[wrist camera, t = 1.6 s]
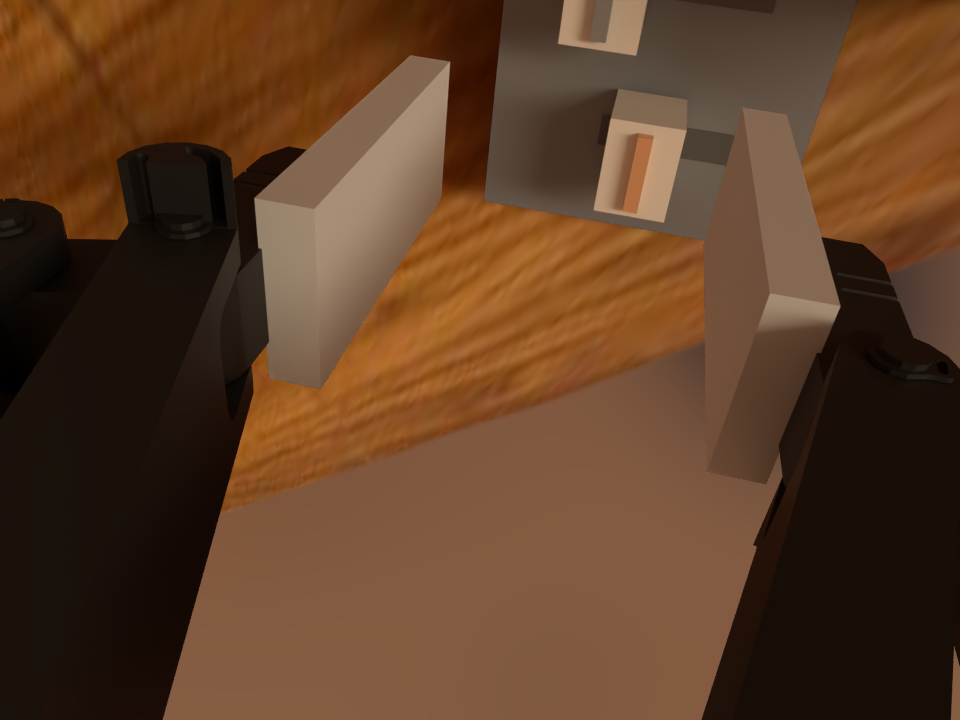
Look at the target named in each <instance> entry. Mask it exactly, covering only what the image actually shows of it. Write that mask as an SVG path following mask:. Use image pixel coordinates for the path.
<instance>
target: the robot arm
mask: <svg viewBox="0 0 960 720" xmlns="http://www.w3.org/2000/svg"><path fill="white" fill-rule="evenodd" d="M449 72H450V61H443V60H437V59H431V58H424V57H418V56H412V55H410V56H409V57H408V58H407V59H406V60H405V61H404V62H403V63H402V64H400V65H399V66H398V67H397V68H396V69H395V70H394V71H393V72H392V73H391V74H389V75H388V76H387V77H386V78H385V79H384V80H383V81H382V82H381V83H380V84H379V85H377V86H376V87H375V88H374V89H373V90H372V91H371V92H370V93H369V94H368V95H367V96H365V97H364V98H363V99H362V100H361V101H360V102H359V103H358V104H357V105H356V106H355V107H353V108H352V109H351V110H350V111H349V112H348V113H347V114H346V115H345V116H344V117H342V118H341V119H340V120H339V121H338V122H337V123H336V124H335V125H334V126H333V127H332V128H330V129H329V130H328V131H327V132H326V133H325V134H324V135H323V136H322V137H321V138H320V139H318V140H317V141H316V142H315V143H314V144H313V145H312V146H311V147H310V148H309V149H307V150H305V149H299V148H294V147H285V148H283V149H280V150H277V151H274V152H272V153H269V154H266V155H263V156H262V157H260V158H259V159H258V160H257V161H256V162H254V163H253V164H252V165H251V166H250V167H248V168H247V169H246V172H242V173H241V174H240V175H239V176H238V177H236V178H235V179H234V182H233V173H232V163H231V158H230V157H229V156H228V155H227V154H226V153H224V152H223V151H221V150H219V149H216V148H213V147H210V146H208V145H201V144H194V143H161V144H155V145H148V146H143V147H141V148H138V149H135V150H132V151H129V152H127V153H126V154H124V155H123V156H122V157H120V158H119V159H117V164H118V169H119V174H120V180H121V185H122V190H123V196H124V201H125V206H126V212H127V217H128V225H127V226H126V228H125V229H124V231H123V232H122V234H121V235H120V237H119V239H118V240H97V239H67V235H66V231H65V227H64V223H63V218H62V214H61V213H60V212H59V211H57V210H56V209H55V208H54V207H53V206H50V205H47V204H43V203H40V202H37V201H24V200H20V199H5V201H3V199H0V720H163V716H164V713H165V709H166V706H167V702H168V698H169V695H170V691H171V688H172V684H173V680H174V677H175V673H176V670H177V666H178V662H179V659H180V655H181V652H182V648H183V644H184V641H185V637H186V634H187V630H188V626H189V623H190V619H191V616H192V612H193V608H194V605H195V601H196V597H197V594H198V591H199V587H200V583H201V580H202V576H203V572H204V569H205V565H206V562H207V558H208V555H209V551H210V547H211V544H212V540H213V536H214V533H215V529H216V526H217V522H218V518H219V515H220V511H221V508H222V504H223V501H224V497H225V493H226V490H227V486H228V483H229V479H230V475H231V472H232V468H233V465H234V461H235V457H236V454H237V450H238V447H239V443H240V439H241V436H242V432H243V429H244V425H245V421H246V418H247V414H248V411H249V407H250V403H251V400H252V396H253V393H254V392H253V376H252V366H251V364H252V363H253V362H254V361H255V359H256V358H257V357H258V355H259V354H260V353H261V352H262V350H263V349H264V348H265V346H266V345H267V357H268V369H269V378H270V379H275V380H279V381H284V382H289V383H293V384H298V385H303V386H308V387H312V388H317V389H321V388H322V387H323V385H324V383H325V382H326V380H327V379H328V377H329V376H330V374H331V372H332V371H333V369H334V368H335V366H336V364H337V363H338V361H339V360H340V358H341V357H342V355H343V353H344V352H345V350H346V349H347V347H348V345H349V344H350V342H351V341H352V339H353V337H354V336H355V334H356V333H357V331H358V330H359V328H360V326H361V325H362V323H363V322H364V320H365V318H366V317H367V315H368V314H369V312H370V311H371V309H372V307H373V306H374V304H375V303H376V301H377V299H378V298H379V296H380V295H381V293H382V292H383V290H384V288H385V287H386V285H387V284H388V282H389V280H390V279H391V277H392V276H393V274H394V273H395V271H396V269H397V268H398V266H399V265H400V263H401V261H402V260H403V258H404V257H405V255H406V254H407V252H408V250H409V249H410V247H411V246H412V244H413V242H414V241H415V239H416V238H417V236H418V234H419V233H420V231H421V230H422V228H423V227H424V225H425V223H426V222H427V220H428V219H429V217H430V215H431V214H432V212H433V211H434V209H435V208H436V206H437V204H438V203H439V201H440V200H441V194H442V179H443V163H444V148H445V133H446V118H447V102H448V87H449ZM704 309H705V372H706V373H705V376H706V437H707V438H706V439H707V440H706V443H707V472H711V473H716V474H720V475H725V476H730V477H734V478H739V479H744V480H749V481H753V482H758V483H763V484H766V483H767V481H768V478H769V476H770V474H771V471H772V469H773V466H774V464H775V462H776V459H777V457H778V455H779V452H780V459H781V467H782V475H783V477H782V479H781V482H780V484H779V486H778V489H777V491H776V494H775V496H774V498H773V500H772V503H771V505H770V507H769V509H768V512H767V514H766V516H765V519H764V521H763V523H762V526H761V528H760V530H759V533H758V535H757V537H756V540H755V542H754V544H753V545H755V546H757V549H756V552H755V555H754V558H753V561H752V564H751V567H750V571H749V574H748V577H747V580H746V583H745V586H744V589H743V592H742V595H741V599H740V602H739V605H738V608H737V611H736V614H735V618H734V620H733V623H732V627H731V630H730V633H729V636H728V639H727V642H726V645H725V648H724V651H723V655H722V658H721V661H720V664H719V667H718V670H717V673H716V676H715V679H714V682H713V686H712V689H711V692H710V695H709V698H708V701H707V704H706V707H705V711H704V713H703V717H702V720H951V702H952V679H953V656H954V655H953V654H954V647H955V650H956V654H957V658H958V662H959V665H960V369H959V368H958V366H957V365H956V364H955V363H954V362H953V361H952V360H951V359H950V358H949V357H948V356H946V355H945V354H943V353H942V352H940V351H939V350H937V349H935V348H934V347H932V346H931V345H929V344H927V343H925V342H922V341H920V340H917V339H915V338H913V336H912V333H911V330H910V328H909V325H908V323H907V320H906V318H905V315H904V313H903V311H902V308H901V305H900V303H899V302H898V301H897V295H896V293H895V290H894V288H893V286H891V280H890V278H889V275H888V273H887V270H886V268H885V265H884V263H883V262H882V261H881V260H880V259H878V258H877V257H876V256H875V255H874V254H873V253H872V252H871V251H870V250H868V249H867V248H866V247H865V246H864V245H863V244H857V243H852V242H846V241H840V240H835V239H829V238H823V237H821V235H820V231H819V227H818V224H817V220H816V217H815V213H814V210H813V206H812V202H811V199H810V195H809V192H808V188H807V185H806V181H805V177H804V174H803V170H802V167H801V163H800V160H799V156H798V152H797V149H796V145H795V142H794V138H793V135H792V131H791V127H790V124H789V120H788V117H787V114H781V113H774V112H768V111H762V110H755V109H749V108H743V109H742V112H741V116H740V119H739V123H738V126H737V130H736V133H735V137H734V140H733V144H732V147H731V151H730V154H729V158H728V161H727V165H726V168H725V172H724V175H723V179H722V182H721V186H720V189H719V193H718V197H717V200H716V204H715V207H714V211H713V214H712V218H711V221H710V225H709V228H708V232H707V235H706V239H705V242H704Z"/></svg>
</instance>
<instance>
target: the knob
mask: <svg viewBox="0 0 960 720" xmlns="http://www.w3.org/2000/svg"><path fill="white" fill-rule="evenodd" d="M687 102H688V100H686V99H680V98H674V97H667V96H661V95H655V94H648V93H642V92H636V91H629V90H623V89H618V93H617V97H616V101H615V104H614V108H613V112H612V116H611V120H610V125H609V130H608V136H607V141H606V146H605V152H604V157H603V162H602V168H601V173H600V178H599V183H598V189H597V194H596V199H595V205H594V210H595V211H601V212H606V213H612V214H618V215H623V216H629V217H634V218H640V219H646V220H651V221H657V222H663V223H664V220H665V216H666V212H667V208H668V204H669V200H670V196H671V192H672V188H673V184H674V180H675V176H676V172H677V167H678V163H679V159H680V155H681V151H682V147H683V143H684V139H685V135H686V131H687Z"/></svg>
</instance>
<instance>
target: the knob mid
mask: <svg viewBox="0 0 960 720" xmlns="http://www.w3.org/2000/svg"><path fill="white" fill-rule="evenodd" d="M647 3H648V0H564V5H563V12H562V19H561V26H560V33H559V41H558V44H563V45H569V46H576V47H582V48H589V49H595V50H602V51H609V52H615V53H622V54H628V55H635V56H636V54H637V50H638V45H639V41H640V37H641V33H642V28H643V23H644V18H645V13H646V8H647Z"/></svg>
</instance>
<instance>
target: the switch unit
mask: <svg viewBox="0 0 960 720" xmlns="http://www.w3.org/2000/svg"><path fill="white" fill-rule="evenodd" d="M856 3H857V0H648V3H647V8H646V13H645V18H644V23H643V28H642V33H641V37H640V41H639V45H638V50H637V54H636V56H635V55H628V54H622V53H615V52H609V51H602V50H595V49H589V48H582V47H576V46H569V45H563V44H558V41H559V33H560V26H561V19H562V12H563V5H564V0H504V5H503V15H502V25H501V35H500V45H499V55H498V65H497V75H496V85H495V95H494V105H493V115H492V125H491V135H490V145H489V155H488V165H487V175H486V185H485V195H484V201H487V202H492V203H498V204H504V205H509V206H515V207H521V208H526V209H532V210H537V211H543V212H549V213H554V214H560V215H565V216H571V217H577V218H582V219H588V220H593V221H599V222H605V223H610V224H616V225H621V226H627V227H633V228H638V229H644V230H649V231H655V232H661V233H666V234H672V235H677V236H683V237H689V238H694V239H700V240H705V239H706V235H707V232H708V228H709V225H710V221H711V218H712V214H713V211H714V207H715V204H716V200H717V197H718V193H719V189H720V186H721V182H722V179H723V175H724V172H725V168H726V165H727V161H728V158H729V154H730V151H731V147H732V144H733V140H734V137H735V133H736V130H737V126H738V123H739V119H740V116H741V112H742V109H743V108H749V109H755V110H762V111H768V112H774V113H781V114H787V117H788V120H789V124H790V127H791V131H792V135H793V138H794V142H795V145H796V149H797V152H798V156H799V160H800V163H802V160H803V157H804V154H805V151H806V149H807V146H808V143H809V140H810V137H811V134H812V131H813V128H814V125H815V122H816V119H817V116H818V114H819V111H820V108H821V105H822V102H823V99H824V96H825V93H826V90H827V87H828V84H829V81H830V78H831V76H832V73H833V70H834V67H835V64H836V61H837V58H838V55H839V52H840V49H841V46H842V43H843V41H844V38H845V35H846V32H847V29H848V26H849V23H850V20H851V17H852V14H853V11H854V8H855V6H856ZM618 89H623V90H629V91H636V92H642V93H648V94H655V95H661V96H667V97H674V98H680V99H686V100H688V102H687V131H686V135H685V139H684V143H683V147H682V151H681V155H680V159H679V163H678V167H677V172H676V176H675V180H674V184H673V188H672V192H671V196H670V200H669V204H668V208H667V212H666V216H665V220H664V223H663V222H657V221H651V220H646V219H640V218H634V217H629V216H623V215H618V214H612V213H606V212H601V211H595V210H594V205H595V199H596V194H597V189H598V183H599V178H600V173H601V168H602V162H603V157H604V152H605V146H606V141H607V136H608V130H609V125H610V120H611V116H612V112H613V108H614V104H615V101H616V97H617V93H618Z"/></svg>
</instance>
